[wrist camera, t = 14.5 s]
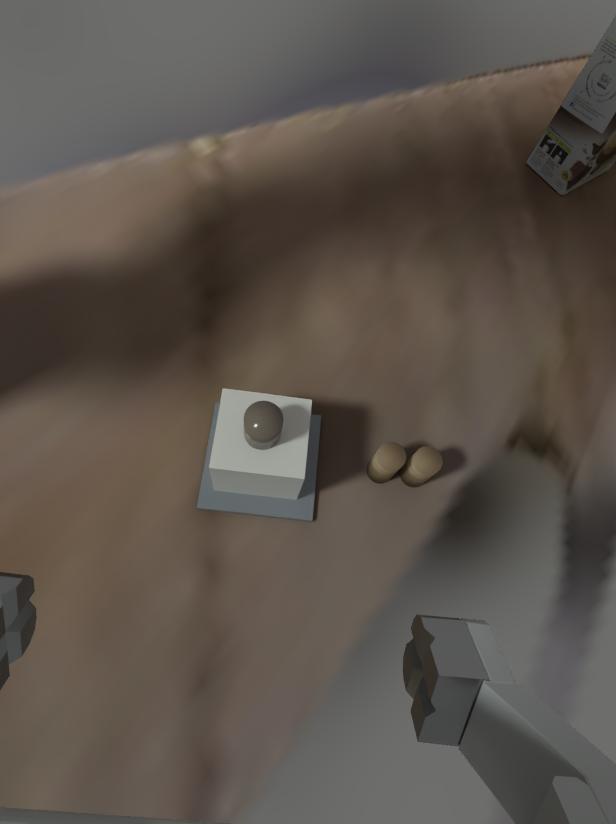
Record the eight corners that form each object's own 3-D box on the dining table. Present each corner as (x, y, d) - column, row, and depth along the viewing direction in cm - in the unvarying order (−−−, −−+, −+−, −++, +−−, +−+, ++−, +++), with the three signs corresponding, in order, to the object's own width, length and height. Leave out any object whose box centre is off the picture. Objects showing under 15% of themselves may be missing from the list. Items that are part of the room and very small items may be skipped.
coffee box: (562, 198, 57) (672, 50, 42) (523, 163, 59) (616, 8, 44) (610, 171, 60) (729, 22, 45) (572, 137, 62) (674, -16, 47)
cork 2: (399, 485, 41) (414, 471, 37) (400, 460, 42) (414, 444, 38) (425, 488, 41) (443, 475, 38) (425, 463, 42) (442, 448, 39)
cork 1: (365, 481, 41) (377, 467, 37) (366, 456, 42) (378, 440, 38) (391, 484, 41) (406, 471, 37) (392, 459, 42) (406, 443, 38)
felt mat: (197, 508, 38) (196, 507, 38) (216, 403, 42) (215, 401, 42) (311, 521, 39) (312, 520, 39) (320, 417, 43) (321, 415, 42)
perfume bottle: (214, 490, 39) (206, 456, 31) (226, 419, 41) (221, 371, 34) (296, 499, 39) (308, 468, 32) (303, 429, 42) (316, 384, 34)
